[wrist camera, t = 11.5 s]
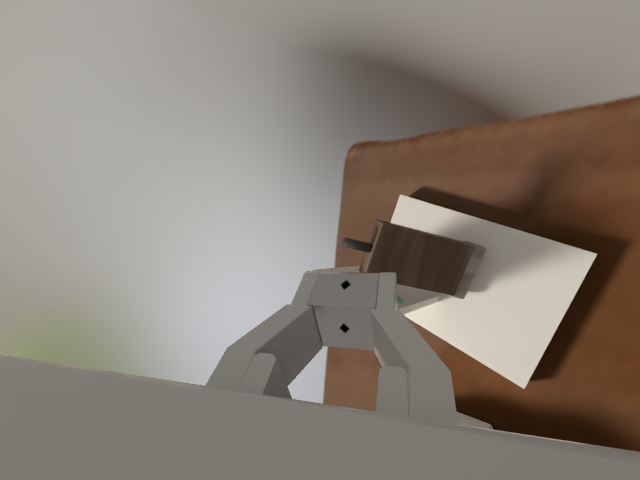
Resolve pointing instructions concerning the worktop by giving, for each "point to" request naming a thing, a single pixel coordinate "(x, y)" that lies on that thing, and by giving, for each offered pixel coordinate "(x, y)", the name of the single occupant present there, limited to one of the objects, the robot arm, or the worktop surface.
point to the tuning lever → (420, 258)
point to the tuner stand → (494, 290)
